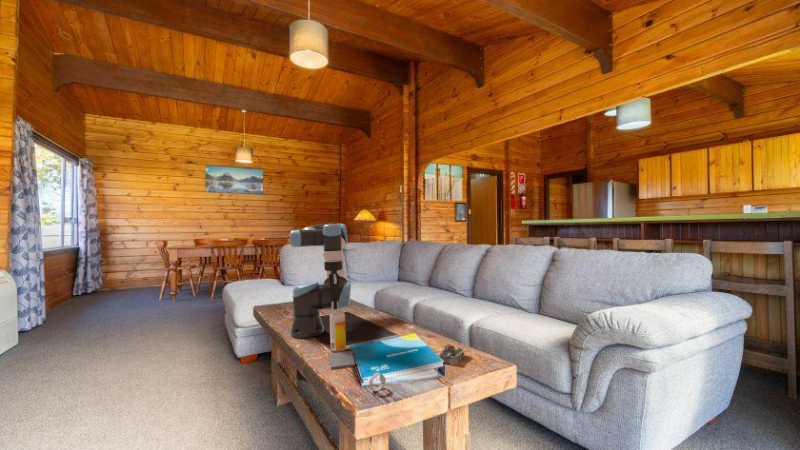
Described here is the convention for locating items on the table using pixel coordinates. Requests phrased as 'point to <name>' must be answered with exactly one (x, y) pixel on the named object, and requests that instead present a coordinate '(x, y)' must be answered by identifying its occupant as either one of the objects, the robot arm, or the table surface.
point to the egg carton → (451, 354)
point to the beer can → (337, 331)
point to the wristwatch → (382, 381)
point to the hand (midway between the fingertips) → (335, 316)
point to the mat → (341, 359)
